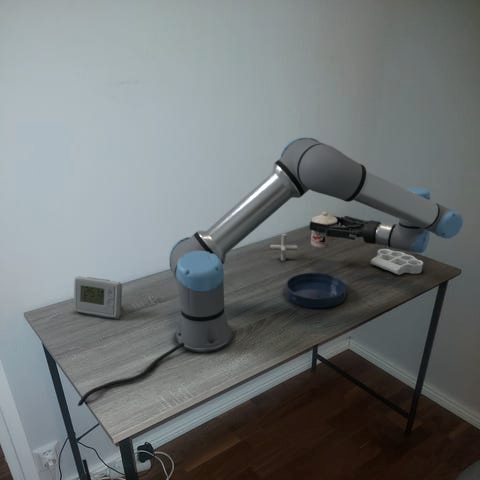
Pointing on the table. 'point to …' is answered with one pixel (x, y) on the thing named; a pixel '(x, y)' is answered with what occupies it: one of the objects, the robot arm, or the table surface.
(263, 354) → the table surface
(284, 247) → the pipe connector
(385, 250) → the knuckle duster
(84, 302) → the digital clock
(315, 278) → the bowl
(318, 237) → the teacup with lid
